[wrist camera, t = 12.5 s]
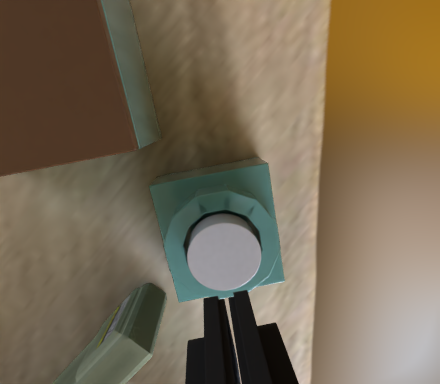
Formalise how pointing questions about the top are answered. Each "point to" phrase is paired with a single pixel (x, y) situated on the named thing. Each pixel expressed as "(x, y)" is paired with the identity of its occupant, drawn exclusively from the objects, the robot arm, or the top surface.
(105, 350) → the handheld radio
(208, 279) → the flush button
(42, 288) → the top surface
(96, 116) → the brown rectangular panel
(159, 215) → the flush button base
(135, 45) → the teal bin
